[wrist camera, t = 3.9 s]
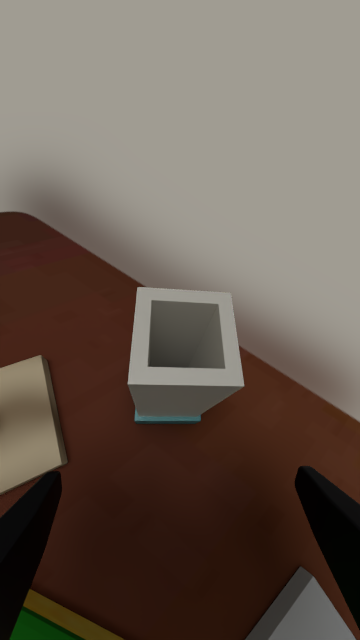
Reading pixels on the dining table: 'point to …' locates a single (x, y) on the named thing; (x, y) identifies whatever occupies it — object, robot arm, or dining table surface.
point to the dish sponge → (54, 622)
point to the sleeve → (182, 354)
